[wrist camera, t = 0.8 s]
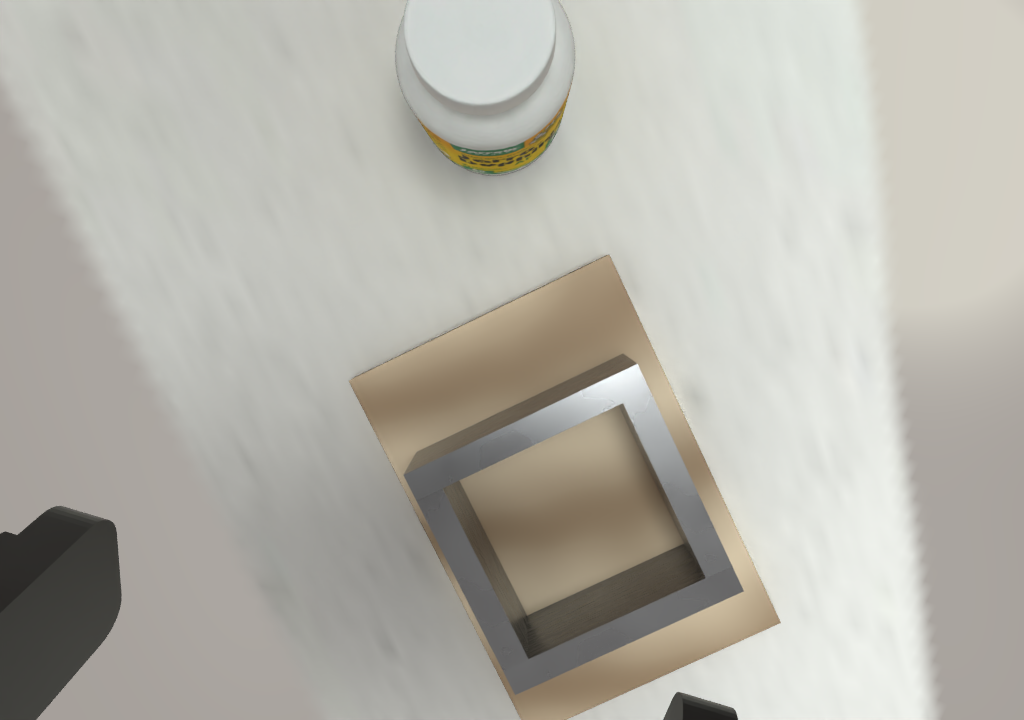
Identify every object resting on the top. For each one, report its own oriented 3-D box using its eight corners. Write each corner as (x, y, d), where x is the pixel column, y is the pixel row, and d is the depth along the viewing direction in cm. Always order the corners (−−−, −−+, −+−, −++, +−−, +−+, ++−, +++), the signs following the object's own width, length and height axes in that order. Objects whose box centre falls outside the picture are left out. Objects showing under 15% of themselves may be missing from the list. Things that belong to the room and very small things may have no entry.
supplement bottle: (530, 9, 29) (537, -121, 20) (585, 143, 30) (618, 80, 20) (399, 68, 29) (343, -33, 20) (456, 200, 30) (427, 164, 20)
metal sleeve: (416, 452, 30) (403, 475, 26) (623, 353, 29) (637, 363, 26) (515, 647, 31) (515, 695, 27) (717, 554, 30) (744, 591, 27)
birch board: (354, 377, 31) (348, 380, 30) (606, 255, 30) (609, 254, 29) (529, 721, 32) (529, 735, 31) (772, 612, 32) (780, 622, 31)
